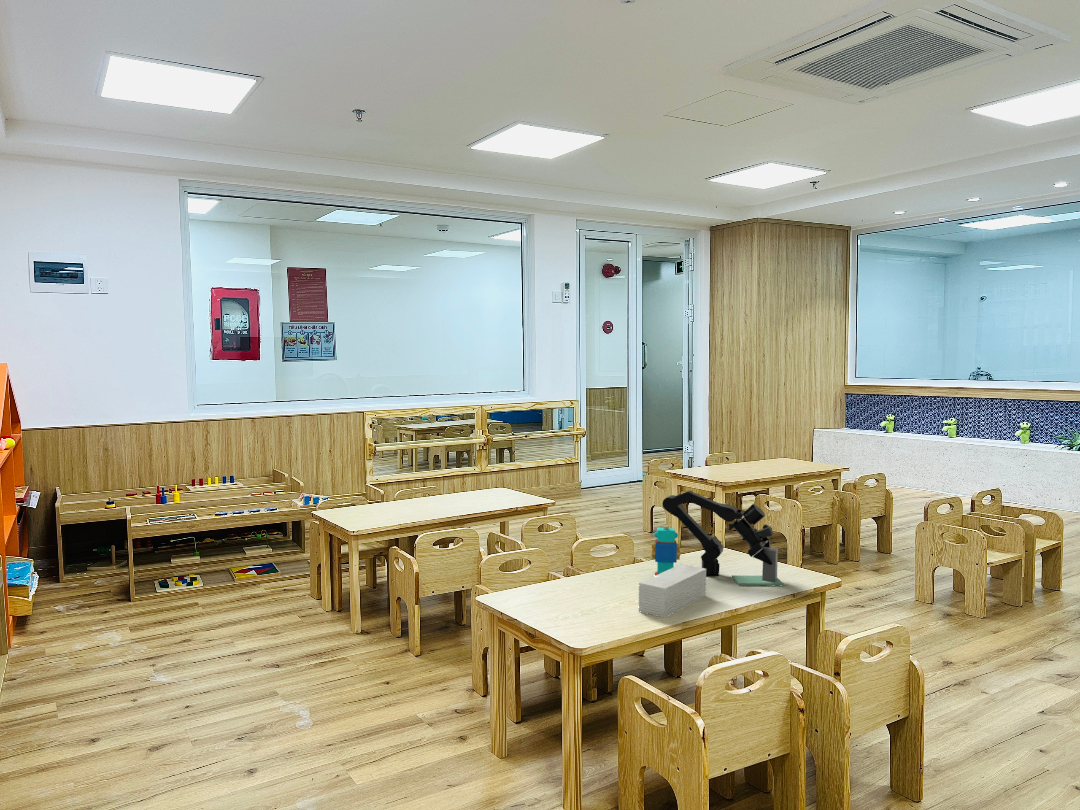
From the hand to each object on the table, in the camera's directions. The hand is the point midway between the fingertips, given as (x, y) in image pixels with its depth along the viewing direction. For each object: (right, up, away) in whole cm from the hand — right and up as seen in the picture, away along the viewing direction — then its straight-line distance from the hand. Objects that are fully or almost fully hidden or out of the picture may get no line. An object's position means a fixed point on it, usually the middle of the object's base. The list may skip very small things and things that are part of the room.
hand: (773, 561), depth 318 cm
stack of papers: (-45, -11, -27) cm, 53 cm away
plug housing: (-1, -8, +1) cm, 8 cm away
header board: (-6, -8, +1) cm, 11 cm away
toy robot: (-43, -8, +3) cm, 44 cm away
